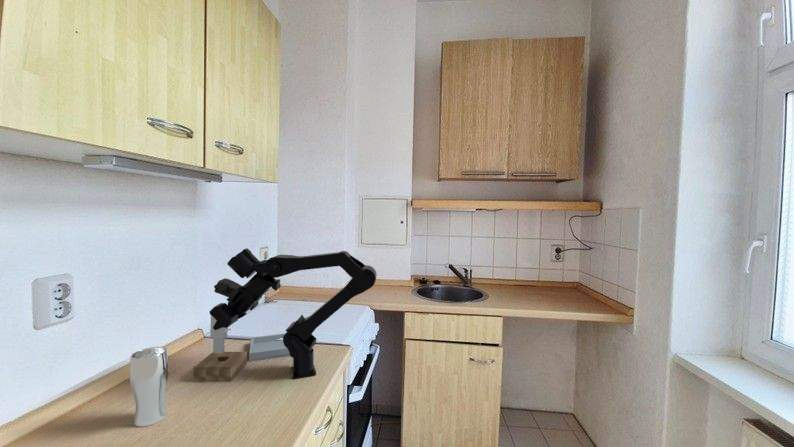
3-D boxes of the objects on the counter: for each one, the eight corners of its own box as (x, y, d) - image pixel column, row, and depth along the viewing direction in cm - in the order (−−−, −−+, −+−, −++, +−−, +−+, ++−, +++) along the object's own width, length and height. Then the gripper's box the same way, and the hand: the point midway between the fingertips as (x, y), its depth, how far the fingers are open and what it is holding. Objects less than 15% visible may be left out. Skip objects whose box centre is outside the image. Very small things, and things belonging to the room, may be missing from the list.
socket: (246, 364, 101) (246, 351, 101) (230, 381, 91) (230, 367, 91) (213, 364, 101) (213, 351, 101) (193, 381, 91) (193, 367, 91)
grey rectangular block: (227, 351, 96) (227, 313, 96) (224, 353, 95) (225, 315, 94) (213, 350, 96) (213, 313, 96) (210, 353, 95) (210, 314, 94)
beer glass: (162, 425, 72) (161, 357, 72) (124, 431, 70) (122, 361, 70) (174, 407, 79) (172, 344, 78) (139, 411, 77) (137, 347, 76)
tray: (296, 354, 108) (296, 347, 108) (249, 361, 103) (249, 353, 103) (293, 339, 121) (293, 332, 121) (251, 344, 116) (251, 337, 116)
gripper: (248, 264, 104) (213, 299, 104) (216, 276, 85) (174, 318, 86) (273, 289, 104) (238, 324, 105) (247, 306, 86) (205, 348, 86)
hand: (215, 327), depth 95 cm, fingers closed on grey rectangular block, 2 cm apart
